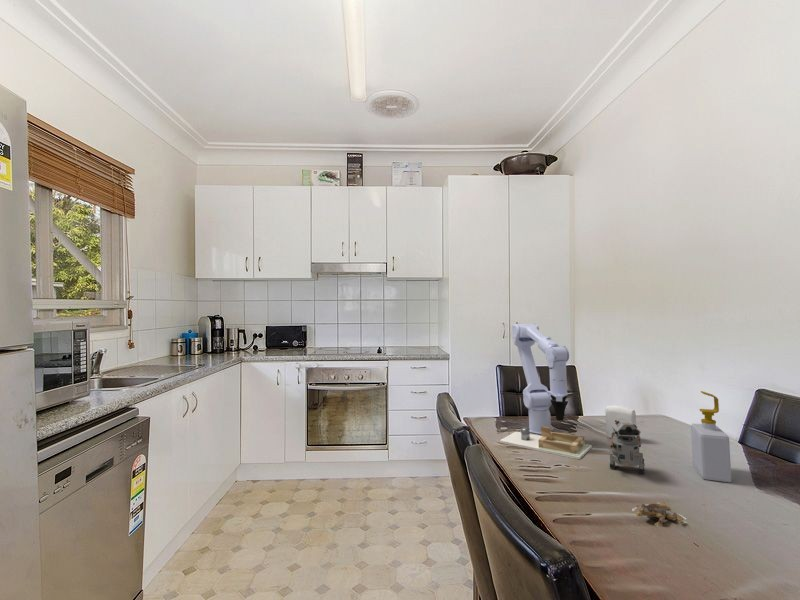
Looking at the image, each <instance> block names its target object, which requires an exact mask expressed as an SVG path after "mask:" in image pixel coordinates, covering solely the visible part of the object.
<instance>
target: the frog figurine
mask: <svg viewBox="0 0 800 600" xmlns="http://www.w3.org/2000/svg"><path fill="white" fill-rule="evenodd" d="M637 508H639V505H636V506H634V507H632V509H631V511H632V512H635V511H636V510H637ZM635 515H636V516H637V517H643V518H644V517H645V518H649V519H652V520H654V521H656V522H655V523H653V526H656V527H657V528H662V527H664V524H663V523H666V522H669V521H670V520H674V522H675V524H676V525H677V526H682V525H684V524H687V523H688V521H685V520H687V517H685V516H684V515H683V514H681V513H679V512H672V508H671V507H670V506H669V505H668V504H666V502H665V501H661V502H656V503H650V504H647V503H646V504H644V503H642V504H640V508H639V509H638V510H637V511H636V512H635Z"/></svg>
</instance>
